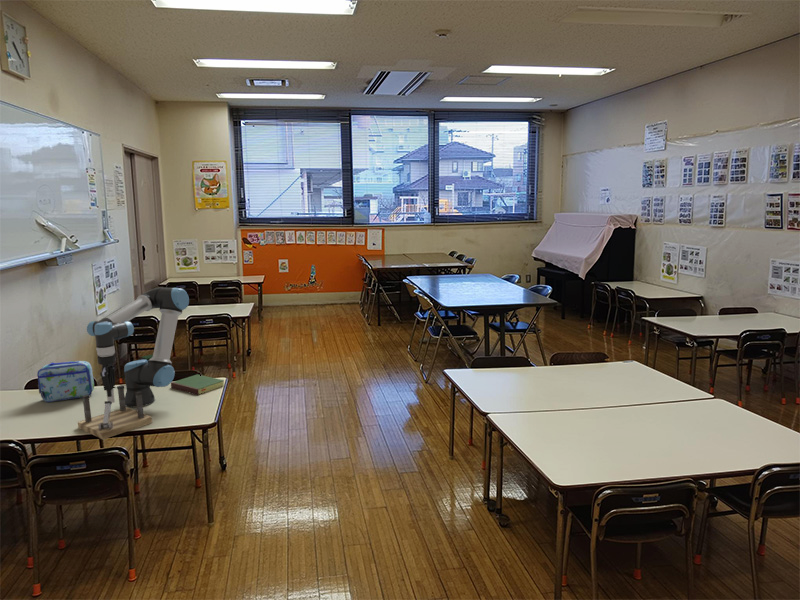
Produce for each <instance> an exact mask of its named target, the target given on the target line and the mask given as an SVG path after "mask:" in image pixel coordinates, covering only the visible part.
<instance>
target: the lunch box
mask: <svg viewBox="0 0 800 600" xmlns="http://www.w3.org/2000/svg"><path fill="white" fill-rule="evenodd" d="M36 376H37V381H38V384H37V387H38V393H39V394H40V397H41V400H43V402H44V403H45V402H46V403H52V402H57V401H65V400H74V399H79V398H81V399H82V396H84V395H89V397H90V396H91V395H92V393H93V392H94V390H95V381H94V375H93V368H92V364H91V363H90V362H89V361H87V360H73V361H72V360H71V361H62V362H50V363H47V364H45V365H44V366H42V368H40V369H39V370H37V375H36Z"/></svg>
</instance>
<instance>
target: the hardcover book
mask: <svg viewBox="0 0 800 600" xmlns="http://www.w3.org/2000/svg"><path fill="white" fill-rule="evenodd" d="M200 375H201V376H200ZM224 384H225V380H224V379H220V378H214V377H211V376H206V375H203V374H198V373H197V374H195V375H191V376H188V377H187V376H186V377H185V378H181V379H178V380H175V381H172V382H171V383H170V387H171V389H174V390H178V391H182V392H184V393H185V392H186V393H189V392H190V394H192V393H193V395H196V394H197V395H198V396H199V395H201V393H202V394H204V392H205V393H207V392H210V391H213V390H215V389H218V388H221V386H222V387H224V386H225V385H224ZM197 395H196V396H197Z"/></svg>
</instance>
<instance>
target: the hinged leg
mask: <svg viewBox="0 0 800 600" xmlns="http://www.w3.org/2000/svg"><path fill="white" fill-rule="evenodd" d="M111 407H112V402H111V401H107V400H106V401H104V411H103V412H104V413H103V414H104V419H103V424H102V429H109V420H110V412H111Z"/></svg>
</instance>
